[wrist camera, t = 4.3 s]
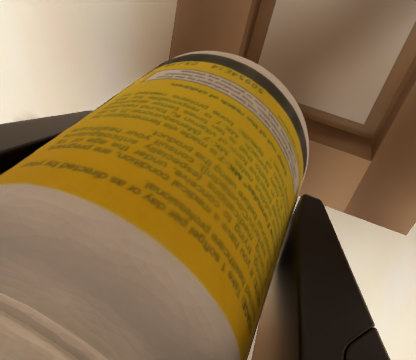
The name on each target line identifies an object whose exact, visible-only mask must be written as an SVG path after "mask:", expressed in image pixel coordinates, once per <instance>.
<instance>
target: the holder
mask: <svg viewBox="0 0 416 360" xmlns="http://www.w3.org/2000/svg"><path fill="white" fill-rule="evenodd" d="M197 51H219V52H225V53H230V54H234V55H238V56H240V57H243V58H246V59H248V60H250V61H252V62H254V63H256V64H258V65H260V66H261V67H263V68H265V69H266V70H267V71H269V72H270V73H271V74H273V75H274V76H275V77H276V78H277V79H278V80H279V81H281V83H282V84H283V85H284V86H285V87H286V88H287V89H288V91H289V92H290V93H291V94H292V96H293V97H294V99H295V100H296V102H297V104H298V106H299V108H300V110H301V112H302V114H303V117H304V120H305V123H306V126H307V132H308V138H309V158H308V165H307V169H306V173H305V176H304V180H303V183H302V186H301V189H300V192H299V195H298V196H302V195H303V194H307V195H310V196H313V197H315V198H318V199H320V200H321V201H322V203H323V205H325V206H328V207H331V208H333V209H336V210H339V211H342V212H344V213H347V214H350V215H352V216H355V217H358V218H360V219H363V220H366V221H369V222H371V223H374V224H377V225H379V226H382V227H385V228H388V229H390V230H393V231H396V232H398V233H401V234H404V235H407V234H408V232H409V231H410V229H411V228H412V227H413V225H414V224H415V222H416V0H178V2H177V9H176V15H175V22H174V29H173V36H172V42H171V49H170V56H169V60H170V59H172V58H174V57H176V56H179V55H182V54H186V53H190V52H197Z"/></svg>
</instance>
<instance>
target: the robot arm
mask: <svg viewBox="0 0 416 360" xmlns="http://www.w3.org/2000/svg"><path fill="white" fill-rule="evenodd" d="M91 112H93V111H84V112H77V113H71V114H64V115H58V116H51V117H44V118H38V119H31V120H25V121H18V122H12V123H5V124H0V174H2V173H3V172H5V171H7V170H8V169H10V168H12V167H13V166H15V165H16V164H17V163H19V162H20V161H21V160H23V159H24V158H26V157H27V156H29V155H30V154H32V153H33V152H35V151H36V150H38V149H39V148H40V147H42V146H43V145H45V144H46V143H48V142H49V141H51V140H52V139H54V138H55V137H57V136H58V135H59V134H61V133H62V132H63V131H65V130H66V129H67V128H69V127H70V126H72V125H73V124H74V123H76V122H77V121H79V120H81V119H82V118H84V117H85V116H87V115H88V114H90V113H91ZM374 326H375V324H374V322H373V319H372V317H371V315H370V312H369V310H368V308H367V305H366V303H365V301H364V298H363V296H362V294H361V291H360V289H359V287H358V284H357V282H356V280H355V277H354V275H353V273H352V270H351V268H350V266H349V263H348V261H347V259H346V256H345V254H344V252H343V249H342V247H341V245H340V242H339V240H338V238H337V235H336V233H335V231H334V228H333V226H332V224H331V221H330V219H329V217H328V214H327V212H326V210H325V207H324V205H323V203H322V201H321V200H320V199H318V198H315V197H313V196H310V195H307V194H303V195H302V196H301V198H300V200H299V202H298V204H297V206H296V209H295V211H294V213H293V215H292V217H291V220H290V223H289V226H288V230H287V233H286V236H285V239H284V242H283V245H282V249H281V252H280V255H279V258H278V261H277V265H276V268H275V271H274V274H273V277H272V281H271V284H270V287H269V290H268V294H267V297H266V300H265V303H264V306H263V309H262V313H261V316H260V320H259V325H258V330H257V335H256V340H255V345H254V350H253V355H252V360H390V358H389V356H388V353H387V351H386V349H385V347H384V345H383V342H382V340H381V338H380V335H379V333H378V331H377V329H376V328H374Z"/></svg>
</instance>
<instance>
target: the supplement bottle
mask: <svg viewBox="0 0 416 360" xmlns="http://www.w3.org/2000/svg"><path fill="white" fill-rule="evenodd" d="M308 158H309V138H308V132H307V126H306V123H305V120H304V117H303V114H302V112H301V110H300V108H299V106H298V104H297V102H296V100H295V99H294V97H293V96H292V94H291V93H290V92H289V91H288V89H287V88H286V87H285V86H284V85H283V84H282V83H281V81H279V80H278V79H277V78H276V77H275V76H274V75H273V74H271V73H270V72H269V71H267V70H266V69H265V68H263V67H261V66H260V65H258V64H256V63H254V62H252V61H250V60H248V59H246V58H243V57H240V56H238V55H234V54H230V53H225V52H219V51H197V52H190V53H186V54H182V55H179V56H176V57H174V58H172V59H170V60H168V61H166V62H164V63H162V64H161V65H159V66H158V67H156V68H155V69H153V70H152V71H150V72H149V73H147V74H146V75H145V76H143V77H142V78H140V79H139V80H138V81H136V82H135V83H133V84H132V85H130V86H129V87H127V88H126V89H124V90H122V91H121V92H120V93H118V94H117V95H115V96H114V97H112V98H111V99H110V100H108V101H107V102H106V103H104V104H103V105H101V106H100V107H99V108H97V109H96V110H94V111H93V112H91V113H90V114H88V115H87V116H85V117H84V118H82V119H81V120H79V121H77V122H76V123H74V124H73V125H72V126H70V127H69V128H67V129H66V130H65V131H63V132H62V133H61V134H59V135H58V136H57V137H55V138H54V139H52V140H51V141H49V142H48V143H46V144H45V145H43V146H42V147H40V148H39V149H38V150H36V151H35V152H33V153H32V154H30V155H29V156H27V157H26V158H24V159H23V160H21V161H20V162H19V163H17V164H16V165H15V166H13V167H12V168H10V169H8V170H7V171H5V172H3V173H2V174H0V360H247V358H248V355H249V352H250V348H251V345H252V342H253V339H254V335H255V332H256V329H257V326H258V322H259V319H260V316H261V313H262V309H263V306H264V303H265V300H266V297H267V294H268V290H269V287H270V284H271V281H272V277H273V274H274V271H275V268H276V265H277V261H278V258H279V255H280V252H281V249H282V245H283V242H284V239H285V236H286V233H287V230H288V226H289V223H290V220H291V217H292V214H293V211H294V207H295V204H296V201H297V198H298V195H299V192H300V189H301V186H302V183H303V180H304V176H305V173H306V169H307V165H308Z"/></svg>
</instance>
